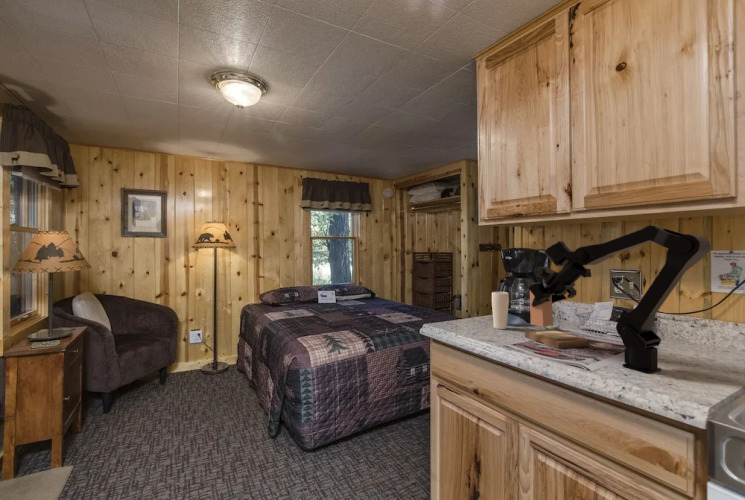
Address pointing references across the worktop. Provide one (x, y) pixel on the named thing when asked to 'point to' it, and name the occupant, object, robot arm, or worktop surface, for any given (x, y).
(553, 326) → the pacifier
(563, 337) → the wooden board
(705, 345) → the worktop surface
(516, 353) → the worktop surface
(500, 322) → the drinking glass
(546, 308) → the terracotta tower brick
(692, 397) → the worktop surface
